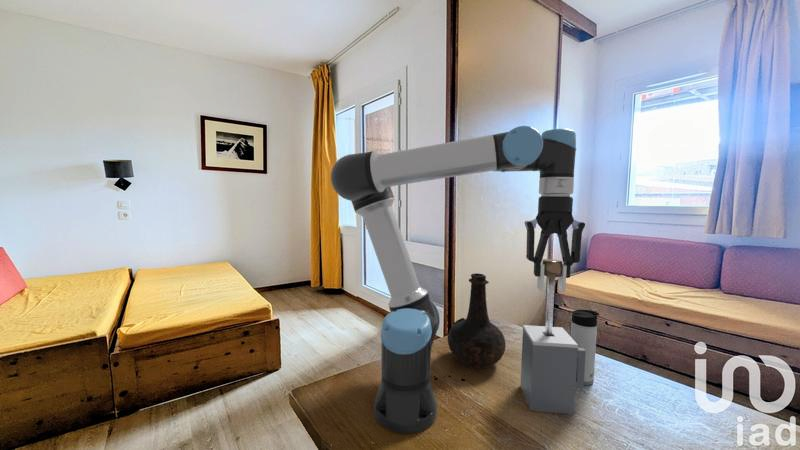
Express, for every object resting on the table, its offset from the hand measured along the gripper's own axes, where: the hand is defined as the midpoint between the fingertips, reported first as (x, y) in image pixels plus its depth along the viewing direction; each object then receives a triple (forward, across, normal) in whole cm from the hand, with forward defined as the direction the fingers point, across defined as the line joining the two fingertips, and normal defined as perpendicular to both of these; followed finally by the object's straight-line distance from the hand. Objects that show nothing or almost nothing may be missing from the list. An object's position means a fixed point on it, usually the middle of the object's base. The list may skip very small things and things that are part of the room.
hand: (550, 289), depth 79 cm
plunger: (+16, 0, 0) cm, 16 cm away
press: (+29, +2, 0) cm, 29 cm away
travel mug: (+29, +13, +11) cm, 34 cm away
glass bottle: (+29, -16, +17) cm, 37 cm away
